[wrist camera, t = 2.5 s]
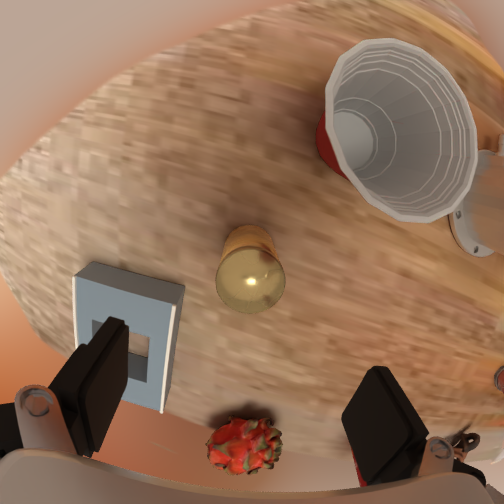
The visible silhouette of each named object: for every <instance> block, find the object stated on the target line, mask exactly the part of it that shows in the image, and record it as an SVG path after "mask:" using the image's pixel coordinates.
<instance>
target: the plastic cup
mask: <svg viewBox="0 0 504 504" xmlns="http://www.w3.org/2000/svg"><path fill="white" fill-rule="evenodd" d="M316 145H317V148H318V151H319V154H320V156H321V157H322V159H323V160H324V161H325V162H326V163H327V164H328V166H329V167H331V168H332V169H333V170H334V171H335V172H336V173H338V174H339V175H341V176H342V177H344V178H346V179H347V180H349V181H350V182H351V183H352V184H353V185H354V186H355V188H356V189H357V190H358V192H359V193H360V194H361V195H362V197H363V198H364V199H365V201H367V202H368V203H369V204H371V205H373V206H374V207H376V208H378V209H379V210H381V211H383V212H384V213H386V214H388V215H389V216H391V217H393V218H394V219H396V220H398V221H403V222H417V223H430V222H433V221H435V220H437V219H439V218H441V217H443V216H445V215H447V214H449V213H451V212H453V211H454V210H455V208H456V207H457V206H458V205H459V203H460V202H461V201H462V199H463V198H464V197H465V195H466V194H467V193H468V191H469V190H470V187H471V184H472V180H473V177H474V173H475V170H476V166H477V162H478V147H477V129H476V125H475V122H474V119H473V116H472V113H471V110H470V107H469V104H468V101H467V98H466V96H465V95H464V93H463V92H462V90H461V89H460V87H459V86H458V84H457V83H456V81H455V80H454V78H453V77H452V75H451V74H450V73H449V71H448V70H447V69H446V68H445V67H444V66H443V65H442V64H440V63H439V62H438V61H437V60H436V59H434V58H433V57H432V56H431V55H429V54H428V53H427V52H426V51H424V50H423V49H422V48H419V47H417V46H414V45H411V44H409V43H406V42H403V41H400V40H398V39H395V38H381V39H368V40H363V41H361V42H360V43H358V44H357V45H355V46H354V47H352V48H351V49H349V50H348V51H347V52H345V53H344V54H342V55H341V56H339V59H338V61H337V63H336V65H335V67H334V70H333V72H332V74H331V76H330V78H329V81H328V83H327V85H326V87H325V111H324V113H323V115H322V117H321V119H320V121H319V123H318V127H317V129H316Z"/></svg>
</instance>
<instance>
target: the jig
mask: <svg viewBox="0 0 504 504" xmlns="http://www.w3.org/2000/svg"><path fill="white" fill-rule="evenodd" d="M184 291H185V286H183V285H179V284H175V283H171V282H167V281H163V280H159V279H155V278H151V277H147V276H144V275H140V274H136V273H132V272H129V271H125V270H121V269H118V268H114V267H111V266H107V265H104V264H100V263H97V262H92V263H90V264H89V265H88V266H86V267H85V268H83V269H82V270H81V271H79V272H78V273H77V274H75V275H74V276H72V295H73V320H74V334H75V346H76V349H77V348H78V346H79V345H80V344H82V343H84V344H88V343H89V342H90V340H91V339H92V338H93V336H94V335H95V334H96V332H97V331H98V330H99V328H100V327H101V326H102V325H103V323H104V322H105V321H106V319H107V318H108V317H109V316H112V317H115V318H118V319H122V320H124V321H125V325H128V326H129V331H130V332H133V333H137V334H140V335H144V336H147V337H150V342H149V354H148V358H146V357H142V356H139V355H136V354H132V353H129V352H128V382H127V386H126V389H125V391H124V393H123V396H122V398H121V399H122V400H125V401H128V402H131V403H134V404H137V405H141V406H144V407H148V408H151V409H155V410H158V411H160V413H163V411H164V407H165V404H166V400H167V397H168V393H169V390H170V384H171V376H172V368H173V361H174V354H175V347H176V340H177V333H178V327H179V320H180V314H181V308H182V302H183V296H184Z"/></svg>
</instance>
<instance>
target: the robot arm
mask: <svg viewBox="0 0 504 504" xmlns="http://www.w3.org/2000/svg"><path fill="white" fill-rule="evenodd" d="M498 145H499V147H498V152H496V153H495V152H493V151H490V150H478V162H477V166H476V170H475V173H474V177H473V180H472V184H471V187H470V190H469V191H468V193H467V194H466V195H465V197H464V198H463V199H462V201H461V202H460V203H459V205H458V206H457V207H456V208H455V210H454V211H453V212H451V213H449V220H450V225H451V229H452V233H453V235H454V238H455V240H456V242H457V243H458V245H459V246H460V247H461V248H462V249H463V250H464V251H465V252H467V253H469V254H470V255H472V256H476V257H486V256H489V255H491V254H492V253H494V252H495V251H496V252H498V253H500V254H502V255H504V134H500V135H499V143H498ZM128 344H129V326H128V325H125V321H124V320H122V319H118V318H115V317H112V316H109V317H108V318H107V319H106V321H105V322H104V323H103V325H102V326H101V327H100V328H99V330H98V331H97V332H96V334H95V335H94V336H93V338H92V339H91V340H90V342H89V343H88V344H84V343H82V344H80V345H79V346H78V348H77V349H76V350H75V351H74V353H73V354H72V355H71V357H70V358H69V359H68V361H67V362H66V363H65V365H64V366H63V367H62V369H61V370H60V371H59V373H58V374H57V375H56V377H55V378H54V380H53V381H52V383H51V384H50V385H49V387H48V388H47V387H45V386H41V385H28V386H25V387H23V388H22V389H20V390H19V391H18V392H17V394H16V397H15V402H14V403H7V404H0V504H504V495H503V494H501V493H500V492H499V491H497V490H496V489H495V488H493V487H492V486H490V485H489V484H487V485H486V479H485V476H484V474H483V473H482V472H481V471H480V470H478V469H476V468H474V467H472V466H469V465H467V464H465V463H463V462H461V461H458V460H456V459H454V449H453V447H452V445H451V444H450V443H449V442H448V441H447V440H445V439H444V438H441V437H431V438H430V439H428V440H426V437H427V435H428V434H429V432H428V430H427V428H426V427H425V425H424V423H423V422H422V420H421V418H420V417H419V415H418V414H417V412H416V410H415V409H414V407H413V406H412V404H411V402H410V401H409V399H408V398H407V396H406V395H405V393H404V391H403V390H402V388H401V387H400V385H399V384H398V382H397V381H396V379H395V378H394V376H393V374H392V373H391V371H390V370H389V368H388V367H386V366H373V367H372V368H371V369H369V370H368V371H367V373H366V375H365V376H364V378H363V380H362V382H361V383H360V385H359V387H358V389H357V390H356V392H355V394H354V395H353V397H352V399H351V400H350V402H349V404H348V405H347V407H346V408H345V410H344V412H343V413H342V417H341V420H342V423H343V426H344V429H345V431H346V434H347V437H348V440H349V443H350V445H351V448H352V451H353V454H354V457H355V459H356V462H357V465H358V468H359V471H360V474H361V477H362V479H363V481H365V482H366V484H367V486H366V487H358V488H351V489H342V490H331V491H318V492H317V491H316V492H255V491H241V490H230V489H220V488H212V487H205V486H199V485H193V484H187V483H182V482H177V481H171V480H167V479H163V478H158V477H153V476H149V475H145V474H142V473H138V472H134V471H130V470H127V469H124V468H120V467H117V466H114V465H110V464H106V463H103V462H100V461H97V460H94V459H90V458H91V457H92V454H93V452H94V451H95V452H99V450H100V447H101V445H102V443H103V440H104V438H105V435H106V433H107V430H108V428H109V426H110V423H111V421H112V419H113V416H114V414H115V412H116V409H117V407H118V405H119V402H120V400H121V398H122V396H123V393H124V391H125V389H126V386H127V382H128ZM83 455H85V456H87V457H89V458H86V457H83ZM381 483H382V484H381Z"/></svg>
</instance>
